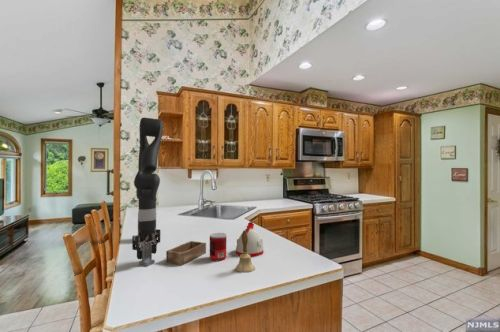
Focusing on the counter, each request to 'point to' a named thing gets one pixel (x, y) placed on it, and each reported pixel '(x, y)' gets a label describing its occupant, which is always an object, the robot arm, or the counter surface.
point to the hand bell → (245, 257)
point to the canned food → (217, 246)
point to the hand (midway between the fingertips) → (146, 256)
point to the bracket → (147, 255)
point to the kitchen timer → (250, 242)
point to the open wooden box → (185, 252)
